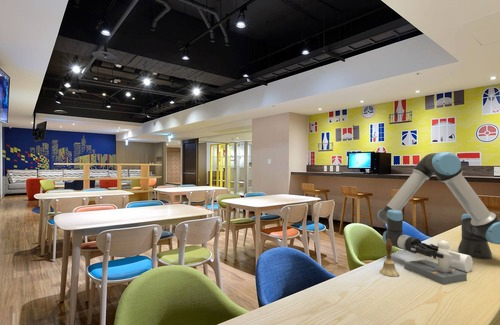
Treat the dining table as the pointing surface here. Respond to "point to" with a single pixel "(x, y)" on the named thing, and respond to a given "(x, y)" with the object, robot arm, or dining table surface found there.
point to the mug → (462, 263)
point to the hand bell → (389, 262)
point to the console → (434, 272)
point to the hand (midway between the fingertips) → (455, 258)
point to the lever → (442, 264)
